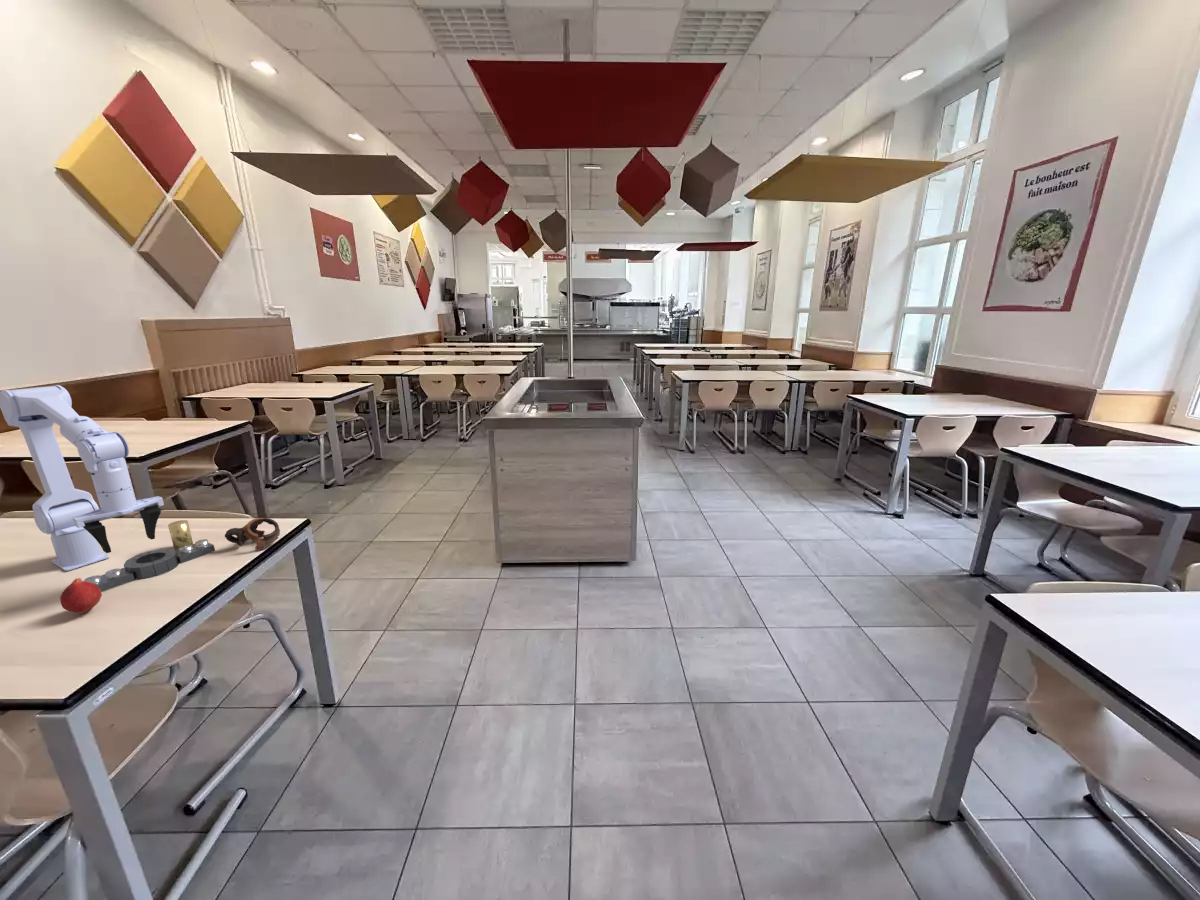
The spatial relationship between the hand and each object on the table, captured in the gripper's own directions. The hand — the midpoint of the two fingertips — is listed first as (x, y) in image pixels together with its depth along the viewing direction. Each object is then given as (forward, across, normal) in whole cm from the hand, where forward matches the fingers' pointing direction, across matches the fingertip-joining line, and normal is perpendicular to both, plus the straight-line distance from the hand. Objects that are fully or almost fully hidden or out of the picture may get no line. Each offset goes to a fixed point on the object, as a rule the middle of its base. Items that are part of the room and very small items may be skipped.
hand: (130, 544), depth 110 cm
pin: (+10, +13, +12) cm, 21 cm away
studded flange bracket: (+10, +4, +5) cm, 12 cm away
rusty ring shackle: (+10, +24, -2) cm, 26 cm away
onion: (+10, -10, -5) cm, 15 cm away
